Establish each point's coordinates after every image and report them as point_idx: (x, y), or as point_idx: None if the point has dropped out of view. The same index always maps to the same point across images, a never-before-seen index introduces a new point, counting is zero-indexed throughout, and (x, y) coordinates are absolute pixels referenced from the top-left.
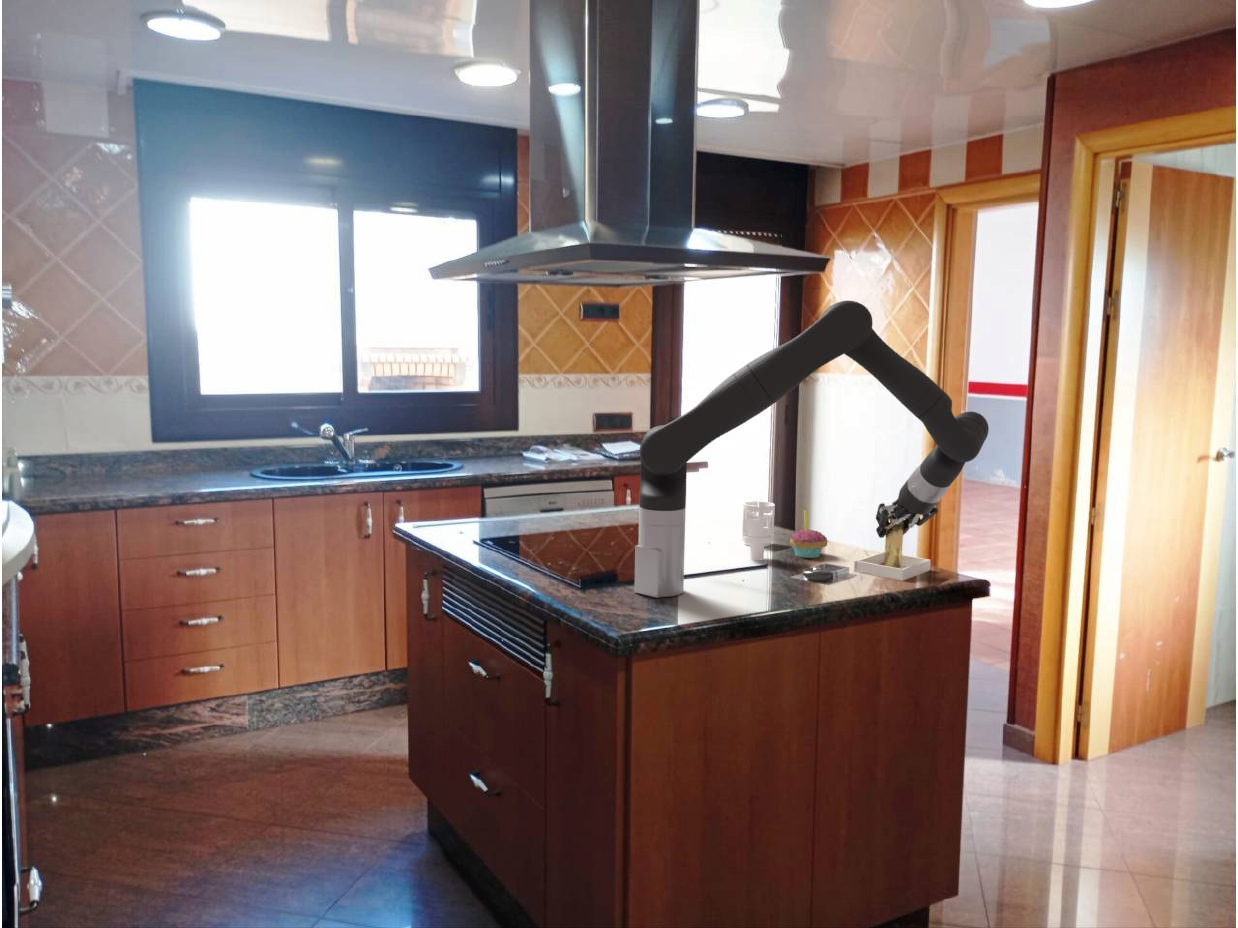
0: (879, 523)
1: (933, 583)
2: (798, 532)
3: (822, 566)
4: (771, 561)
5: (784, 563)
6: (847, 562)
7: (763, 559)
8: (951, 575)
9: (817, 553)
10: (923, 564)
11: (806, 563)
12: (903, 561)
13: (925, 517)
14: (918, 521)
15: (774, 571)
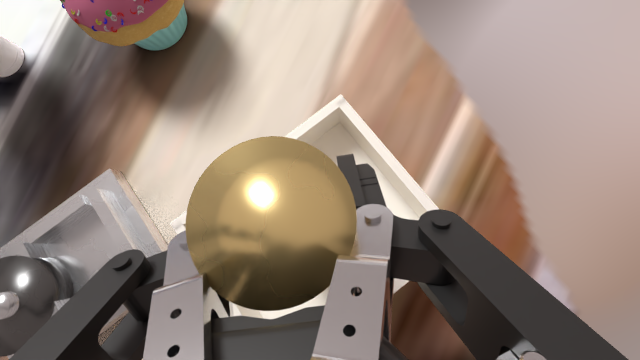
0: (120, 323)
1: (409, 342)
2: None
3: (83, 209)
4: (59, 33)
5: (81, 57)
6: (260, 57)
7: (6, 58)
8: (520, 246)
9: (158, 37)
10: None
11: (140, 61)
12: (383, 168)
13: (473, 353)
14: (427, 287)
15: (12, 140)
